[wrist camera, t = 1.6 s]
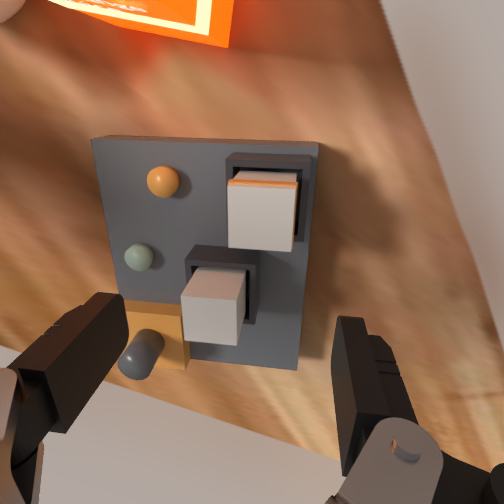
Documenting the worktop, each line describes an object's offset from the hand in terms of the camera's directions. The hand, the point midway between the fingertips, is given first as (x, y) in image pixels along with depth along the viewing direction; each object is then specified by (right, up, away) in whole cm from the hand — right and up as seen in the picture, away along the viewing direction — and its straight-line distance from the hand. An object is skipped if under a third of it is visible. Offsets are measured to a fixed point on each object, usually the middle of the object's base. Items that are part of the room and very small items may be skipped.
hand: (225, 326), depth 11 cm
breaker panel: (-3, +2, +22) cm, 22 cm away
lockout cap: (-9, -5, +23) cm, 25 cm away
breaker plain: (-2, -1, +17) cm, 17 cm away
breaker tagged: (+2, +6, +13) cm, 15 cm away
